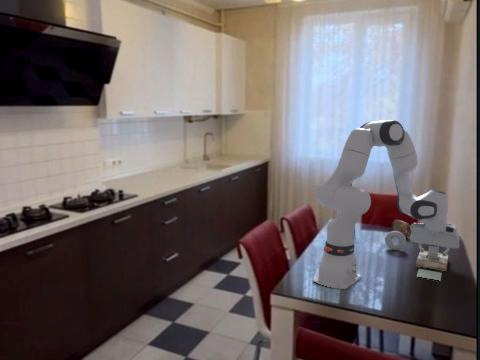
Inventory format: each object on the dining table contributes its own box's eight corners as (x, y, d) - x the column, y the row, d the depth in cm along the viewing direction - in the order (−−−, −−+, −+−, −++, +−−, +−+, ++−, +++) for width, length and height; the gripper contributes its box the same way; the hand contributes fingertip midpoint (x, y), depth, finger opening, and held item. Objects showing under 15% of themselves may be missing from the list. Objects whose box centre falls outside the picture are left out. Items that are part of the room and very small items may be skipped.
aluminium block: (436, 265, 177) (438, 246, 176) (427, 264, 179) (428, 245, 178) (437, 263, 181) (439, 244, 179) (427, 261, 182) (429, 243, 181)
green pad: (440, 281, 160) (440, 280, 160) (416, 277, 165) (416, 275, 164) (441, 274, 168) (441, 272, 168) (418, 270, 172) (419, 268, 172)
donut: (405, 250, 198) (406, 231, 196) (405, 252, 195) (406, 233, 193) (384, 247, 201) (385, 229, 200) (384, 249, 198) (385, 230, 197)
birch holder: (446, 272, 170) (446, 265, 170) (416, 266, 176) (416, 260, 175) (447, 260, 184) (448, 254, 183) (419, 255, 190) (420, 250, 189)
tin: (391, 231, 230) (391, 217, 228) (395, 231, 230) (396, 217, 229) (406, 239, 215) (407, 224, 214) (411, 239, 215) (412, 224, 214)
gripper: (409, 223, 179) (407, 252, 182) (460, 230, 169) (457, 260, 172) (411, 220, 185) (409, 248, 187) (460, 226, 175) (458, 255, 177)
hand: (433, 254), depth 179 cm, fingers open, 8 cm apart
